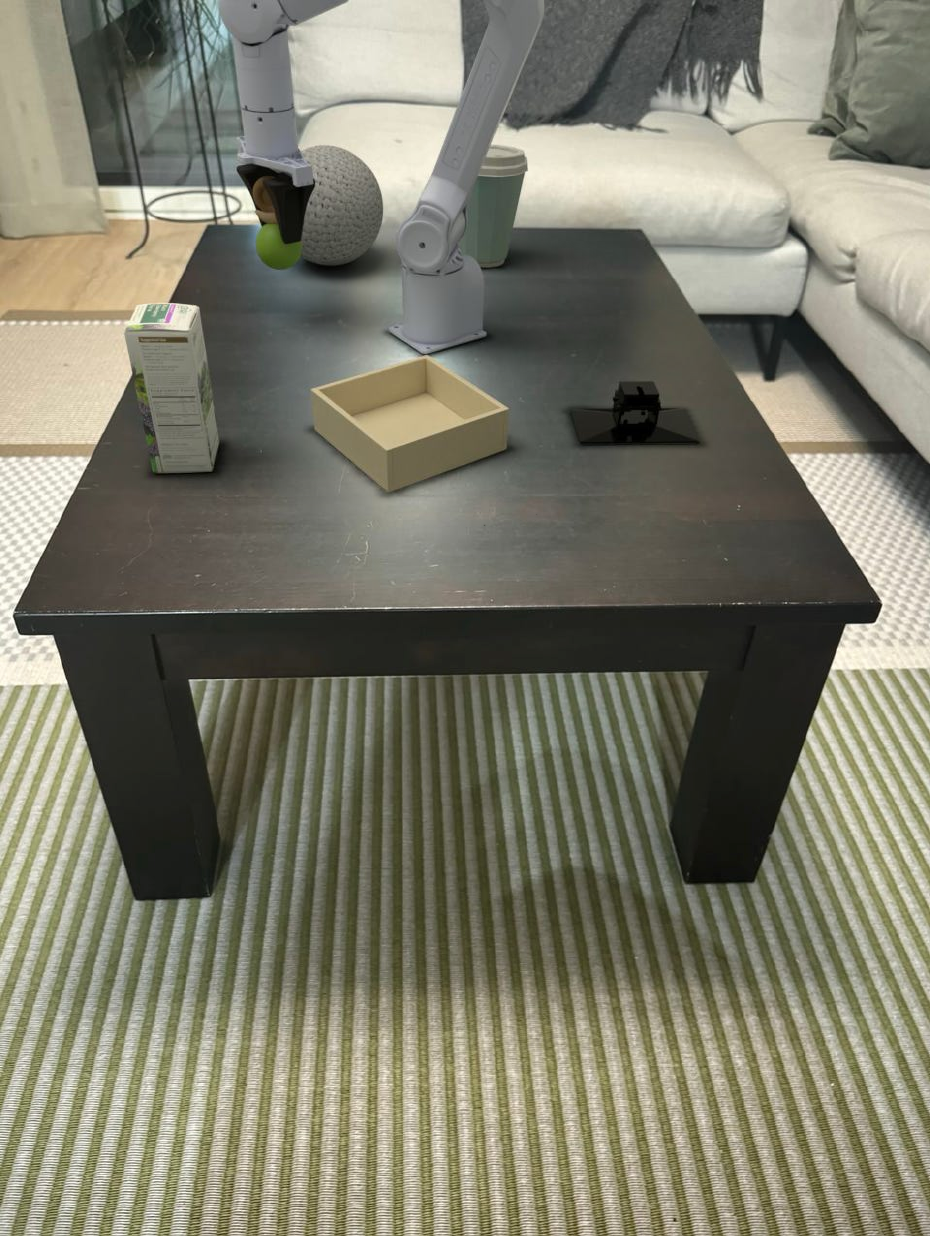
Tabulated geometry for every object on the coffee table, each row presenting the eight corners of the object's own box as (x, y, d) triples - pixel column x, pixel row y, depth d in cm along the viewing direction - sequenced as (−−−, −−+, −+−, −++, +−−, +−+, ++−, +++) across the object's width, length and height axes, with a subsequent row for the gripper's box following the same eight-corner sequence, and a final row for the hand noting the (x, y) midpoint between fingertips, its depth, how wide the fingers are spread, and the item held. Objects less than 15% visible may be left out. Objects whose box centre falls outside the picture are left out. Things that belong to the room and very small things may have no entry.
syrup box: (162, 443, 92) (131, 302, 82) (222, 442, 92) (198, 301, 83) (153, 474, 87) (119, 329, 78) (215, 473, 88) (189, 328, 78)
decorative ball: (406, 260, 131) (404, 146, 121) (333, 291, 122) (324, 170, 112) (331, 236, 138) (323, 126, 128) (256, 263, 129) (241, 147, 119)
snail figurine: (303, 279, 108) (292, 170, 100) (251, 274, 109) (237, 166, 101) (317, 263, 112) (309, 157, 104) (268, 258, 113) (255, 152, 105)
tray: (427, 393, 101) (427, 354, 98) (506, 449, 93) (509, 408, 89) (314, 429, 94) (310, 388, 91) (388, 493, 86) (386, 450, 83)
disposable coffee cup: (440, 249, 135) (441, 137, 125) (510, 245, 137) (517, 135, 127) (457, 276, 127) (460, 159, 117) (531, 271, 129) (540, 156, 119)
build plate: (579, 446, 94) (584, 405, 91) (569, 411, 99) (573, 371, 96) (698, 444, 94) (707, 403, 91) (682, 409, 100) (689, 369, 97)
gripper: (205, 97, 102) (223, 224, 111) (264, 126, 93) (279, 260, 102) (263, 90, 105) (276, 213, 114) (325, 117, 96) (334, 248, 105)
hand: (281, 235), depth 108 cm, fingers closed on snail figurine, 4 cm apart
